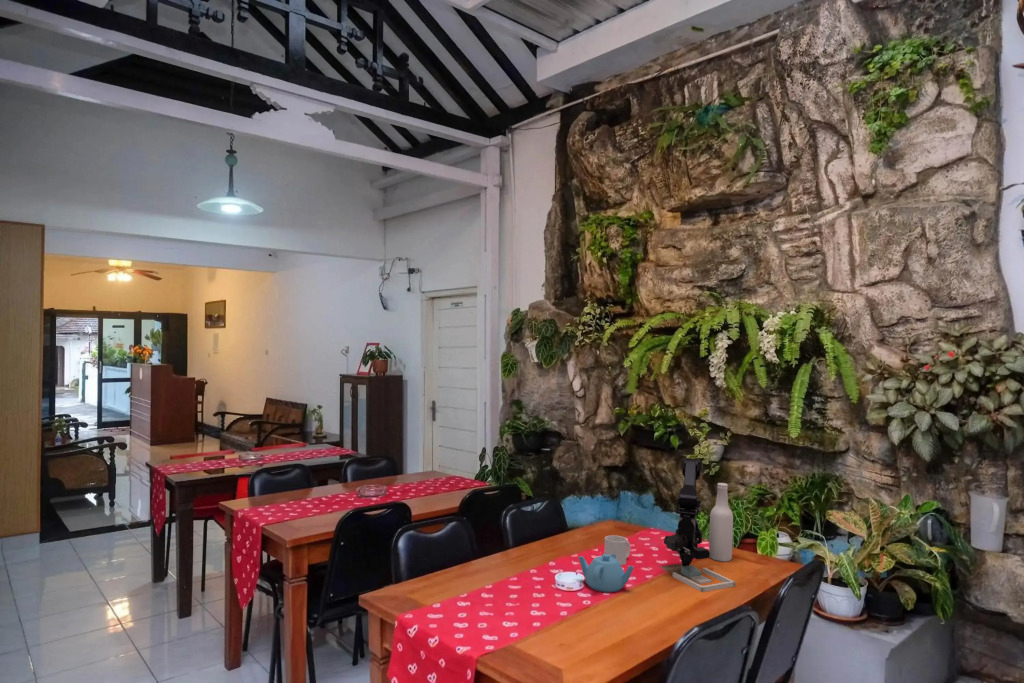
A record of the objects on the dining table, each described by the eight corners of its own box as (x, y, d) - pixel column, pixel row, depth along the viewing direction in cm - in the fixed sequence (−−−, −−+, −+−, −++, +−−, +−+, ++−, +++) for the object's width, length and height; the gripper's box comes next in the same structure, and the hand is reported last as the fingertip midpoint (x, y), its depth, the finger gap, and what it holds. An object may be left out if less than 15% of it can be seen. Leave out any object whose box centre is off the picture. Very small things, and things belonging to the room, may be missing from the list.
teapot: (575, 579, 222) (576, 549, 222) (613, 576, 226) (614, 546, 227) (594, 596, 207) (595, 563, 207) (634, 592, 212) (635, 560, 212)
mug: (622, 559, 245) (623, 532, 246) (637, 565, 239) (638, 538, 239) (599, 564, 239) (600, 537, 239) (614, 570, 232) (615, 543, 232)
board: (658, 570, 233) (659, 566, 233) (681, 567, 238) (681, 563, 238) (678, 581, 223) (678, 577, 223) (702, 577, 228) (702, 573, 228)
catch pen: (672, 581, 223) (672, 572, 224) (704, 575, 230) (704, 567, 230) (702, 596, 210) (702, 587, 210) (735, 590, 216) (735, 581, 217)
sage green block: (680, 572, 227) (681, 566, 226) (691, 571, 229) (692, 565, 228) (689, 579, 222) (690, 573, 222) (700, 578, 224) (701, 571, 224)
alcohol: (709, 560, 248) (711, 484, 248) (708, 553, 256) (711, 480, 256) (732, 563, 245) (734, 487, 246) (731, 556, 254) (733, 482, 254)
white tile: (690, 583, 222) (690, 576, 222) (701, 582, 224) (701, 575, 224) (699, 588, 218) (700, 581, 218) (711, 587, 220) (711, 580, 220)
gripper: (653, 522, 233) (651, 563, 233) (687, 537, 217) (685, 582, 217) (676, 519, 238) (674, 560, 238) (711, 534, 221) (709, 578, 221)
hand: (685, 570), depth 228 cm, fingers closed
